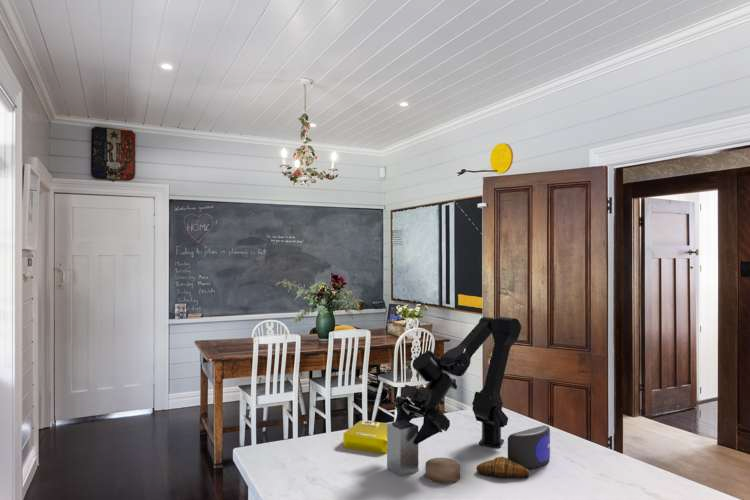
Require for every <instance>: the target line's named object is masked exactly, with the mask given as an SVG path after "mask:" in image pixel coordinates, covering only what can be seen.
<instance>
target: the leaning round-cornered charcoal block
mask: <svg viewBox="0 0 750 500" xmlns="http://www.w3.org/2000/svg"><path fill="white" fill-rule="evenodd" d="M550 428H551V427H549V426H548V425H540V426H537V427H532V428H528V429H525V430H521V431H517V432H514V433H511V434H509V436H508V437H507V458H508V459H510V460H511V461H513V462H516V463H518V464H520V465H522V466H524V467H525V468H527V469H528V470H532V469H536V468H540V467H542V466H544V465H546V464H548V462H550V461H549V460H550V458H551V429H550Z"/></svg>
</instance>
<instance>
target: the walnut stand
mask: <svg viewBox="0 0 750 500" xmlns="http://www.w3.org/2000/svg"><path fill="white" fill-rule="evenodd" d="M461 467H462V466H461V463H460V462H459V461H458V460H456V459H453V458H448V457H433V458H430V459H428V460H427V461H426V462H425V478H426V479H427V478H428V480H429V481H430V480H431V481H430V482H432V483H433V482H434V483H436V484H441V485H442V484H445V485H446V484H447V485H448V484H455V483H457V482H459V481H460V480H461V476H462V475H461V473H462V472H461V470H462V469H461Z"/></svg>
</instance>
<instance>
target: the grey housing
mask: <svg viewBox="0 0 750 500" xmlns="http://www.w3.org/2000/svg"><path fill="white" fill-rule="evenodd" d="M395 421H396V420H395ZM395 421H393V422H390V423H388V424H387V453H386V458H387V459H386V469H387V470H389V471H390V472H392V473H394V474H395V475H397V476H399V477H403V476H407V475H410V474H413V473H417V472H419V444H417V445H415V444H414V443H413V441H414V439H415V437H416V435H417V434H418V432H419V425H417V424H415V423H412V422H408V421H406V420H401V421H396V422H395Z"/></svg>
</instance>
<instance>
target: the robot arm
mask: <svg viewBox="0 0 750 500" xmlns="http://www.w3.org/2000/svg"><path fill="white" fill-rule="evenodd" d="M521 330H522V325H521V322H520V321H519V320H518V319H517V318H515V317H508V316H507V317H506V316H497V317H496V318H495V317H489V316H483V317H481V318H480V319H479V320H478V323H477V324H476V325H474V327H473V328H472V329H471V331H470V332H469V333H468V334H467V335H466V336H465V337H464V338H463V340H461V342H460V343H459V344H458V345H457V346H455V347H453V348H450V349H448V350H447V351H446V352H444V353H443V354H442V355H441V356H440V357H439V358H437V357H436V355H435V354H434V352H433V351H431V350H425V352H424V353H421V354H419V355H417V356H416V357H415V358H414V360H413V362H412V368H413V369H414V371H416V373H417V374H418V375H419V376H420V377H421V378H422V379H423V381H425V382H428V383H427V384H426V386H425V387H424V386H422V385H421V386H419V388H417V387H414V386H411V385H408V384H405V385H404V388H403V390H402V393H401V395H399V396H397V397H396V398H395V399H394V401H393V404H394V407H395V409H396V417H395V421H394V422H396V421H401V420H406V421H408V422H410V421H412V420H413V416H415V414H416V415H418V416H420V417H423V422H422V425H421V426H420V428H419V429H418V434H417V435H416V437H415V439H414V441H413V443H414V444H415V445H417V444H418V445H419V444H421V442H424V441H425V440H427V439H429V438H430V437H433V436H435V435H436V434H439V433H443V431H444V432H447V431H448V430H449V429H450V426H451V421H450V420H449V418H448V417H447V416H446V415H445V413H444V412H443V411H442V410H439V409H437V408H438V407H439V406H443V405H444V404H445V402H444V398H445V396H446V395H447V393H448V392H449V390H450V389H452V390H457V389H458V385H457V379H455V378H453V377H451V376H455V377H462V376H463V375H464V374H465V373H466V372H467V370H468V368H469V367H470V365H471V360H472V357H473V355H474V354H475V353H476V352H477V351H478V349H479V348H481V346H482V345H483V343H485V342H486V341H487V339H488V338H489V337H490V336H491V335H492V338H493V341H494V343H493V347H492V348H493V349H492V351H491V356H490V360H489V364H488V368H487V371H486V376H485V382H484V384H483V388H482V389H481V390H480V391H475V393H474V396H473V401H472V402H471V405H472V412H473V414H474V416H475V420H476V421H477V422H480V423H481V439H480V440H479V442H478V445H479V446H487V447H492V448H493V447H494V448H501V447H502V445H503V444H504V442H505V440H504V439H502V428H505V426H507V425H508V423H509V418H508V416H507V415H506V413H505V412H504V411H503V410H502V409H503V401H502V400H503V399H502V397H501V396H502V395H501V388H502V384H503V380H504V377H505V371H506V367H507V363H508V359H509V355H510V350H511V348H512V346H513V345H514V344H515V343H516V342H517V341H518V340H519V339H518V338H519V336H520V333H521ZM409 399H410V400H409ZM410 423H411V422H410Z"/></svg>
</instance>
